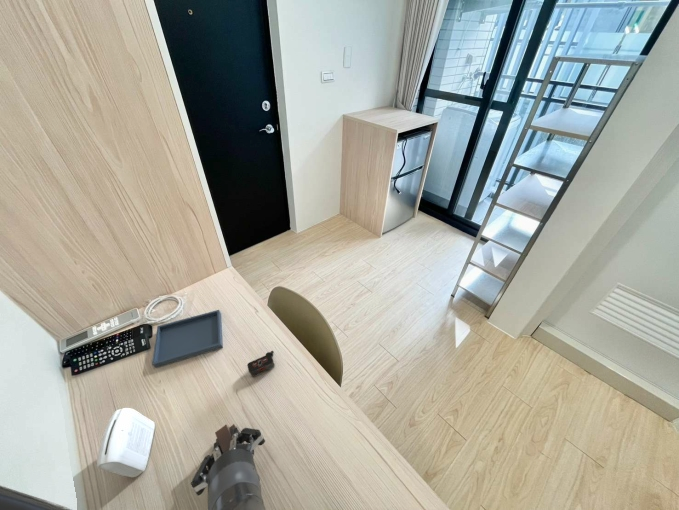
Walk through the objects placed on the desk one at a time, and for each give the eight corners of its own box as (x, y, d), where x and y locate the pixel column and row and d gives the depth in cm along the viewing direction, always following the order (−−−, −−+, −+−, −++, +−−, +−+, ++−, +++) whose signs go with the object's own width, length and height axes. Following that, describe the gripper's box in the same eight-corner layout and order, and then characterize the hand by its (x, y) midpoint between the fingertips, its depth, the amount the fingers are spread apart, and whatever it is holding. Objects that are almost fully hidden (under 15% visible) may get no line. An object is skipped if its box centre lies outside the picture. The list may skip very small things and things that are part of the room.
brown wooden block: (251, 460, 58) (243, 453, 53) (233, 475, 56) (223, 469, 51) (236, 426, 62) (228, 417, 57) (219, 439, 61) (209, 430, 56)
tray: (155, 368, 72) (151, 364, 71) (160, 329, 80) (157, 326, 79) (222, 347, 76) (220, 344, 75) (221, 313, 85) (219, 309, 83)
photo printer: (137, 425, 63) (106, 407, 54) (157, 419, 63) (130, 402, 55) (123, 480, 55) (85, 470, 47) (146, 474, 56) (112, 463, 48)
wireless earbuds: (278, 366, 73) (276, 361, 71) (252, 378, 70) (249, 373, 68) (273, 351, 76) (271, 346, 73) (248, 362, 73) (245, 357, 71)
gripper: (263, 437, 45) (249, 400, 61) (176, 506, 39) (184, 445, 54) (283, 474, 46) (264, 428, 61) (200, 548, 40) (202, 476, 55)
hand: (226, 436), depth 58 cm, fingers closed on brown wooden block, 2 cm apart
